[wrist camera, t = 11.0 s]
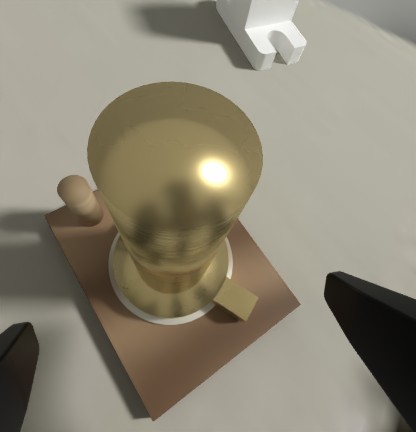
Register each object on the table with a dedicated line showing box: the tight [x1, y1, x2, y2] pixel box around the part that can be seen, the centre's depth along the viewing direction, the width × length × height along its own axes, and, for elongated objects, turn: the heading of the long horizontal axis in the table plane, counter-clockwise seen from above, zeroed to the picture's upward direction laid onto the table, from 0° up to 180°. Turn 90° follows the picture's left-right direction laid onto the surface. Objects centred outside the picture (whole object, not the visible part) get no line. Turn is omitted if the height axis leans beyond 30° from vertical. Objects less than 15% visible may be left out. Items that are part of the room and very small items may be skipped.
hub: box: [87, 82, 263, 322], centre depth 13 cm, size 9×7×12 cm
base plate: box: [45, 175, 301, 421], centre depth 18 cm, size 14×11×5 cm
